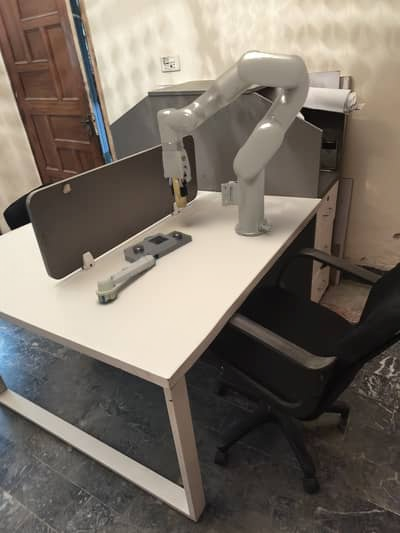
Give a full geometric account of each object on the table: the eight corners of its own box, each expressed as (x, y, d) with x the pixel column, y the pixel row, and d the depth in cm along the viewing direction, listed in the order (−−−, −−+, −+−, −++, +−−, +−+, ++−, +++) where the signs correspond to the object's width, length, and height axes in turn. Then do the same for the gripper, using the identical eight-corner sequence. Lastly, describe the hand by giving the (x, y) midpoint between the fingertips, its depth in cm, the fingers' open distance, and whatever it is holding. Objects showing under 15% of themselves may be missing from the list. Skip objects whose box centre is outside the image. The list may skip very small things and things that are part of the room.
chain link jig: (175, 235, 142) (173, 223, 139) (192, 240, 136) (190, 228, 134) (125, 260, 127) (122, 247, 125) (141, 267, 121) (139, 254, 119)
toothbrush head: (156, 254, 120) (102, 280, 100) (159, 273, 122) (106, 303, 102) (144, 253, 123) (88, 278, 103) (146, 271, 125) (93, 300, 105)
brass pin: (188, 205, 142) (184, 174, 136) (181, 208, 139) (176, 177, 134) (181, 203, 144) (177, 173, 139) (174, 207, 142) (169, 176, 136)
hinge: (221, 206, 165) (220, 184, 160) (224, 202, 169) (222, 180, 164) (252, 206, 161) (252, 184, 156) (254, 202, 166) (253, 180, 161)
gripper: (196, 144, 128) (202, 195, 137) (164, 142, 138) (172, 189, 147) (181, 150, 123) (188, 201, 132) (149, 147, 134) (158, 195, 143)
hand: (180, 194), depth 140 cm, fingers closed on brass pin, 4 cm apart
